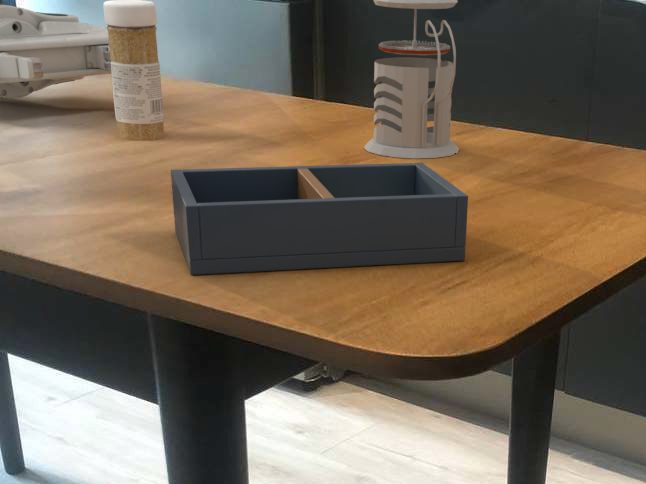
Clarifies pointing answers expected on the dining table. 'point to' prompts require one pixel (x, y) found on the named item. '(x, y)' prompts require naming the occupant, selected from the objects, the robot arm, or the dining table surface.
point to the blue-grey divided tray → (316, 217)
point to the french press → (414, 92)
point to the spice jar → (135, 69)
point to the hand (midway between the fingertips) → (79, 65)
